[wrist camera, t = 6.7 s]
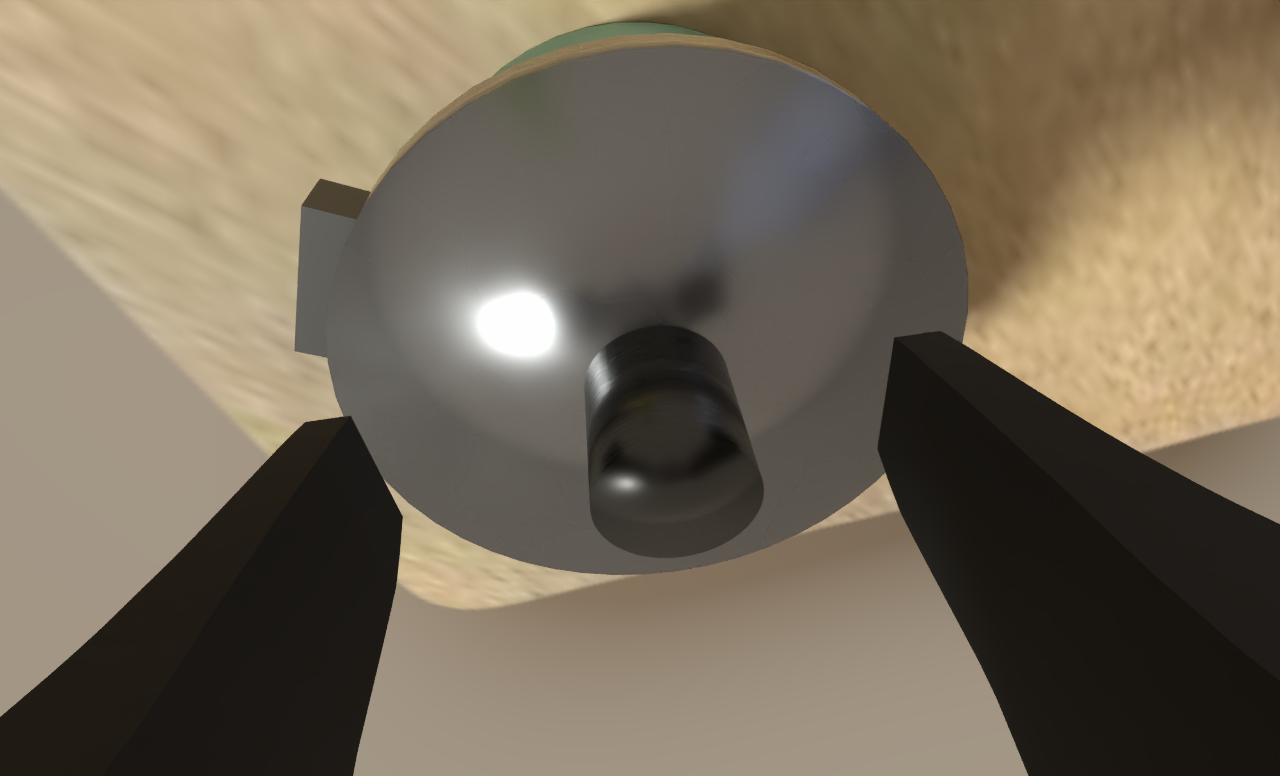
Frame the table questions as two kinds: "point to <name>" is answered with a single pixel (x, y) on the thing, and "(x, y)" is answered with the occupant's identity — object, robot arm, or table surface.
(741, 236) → the lid
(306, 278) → the pot
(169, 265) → the table surface
